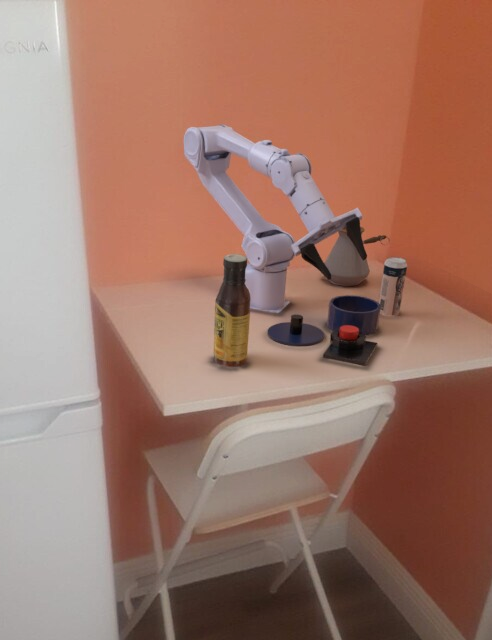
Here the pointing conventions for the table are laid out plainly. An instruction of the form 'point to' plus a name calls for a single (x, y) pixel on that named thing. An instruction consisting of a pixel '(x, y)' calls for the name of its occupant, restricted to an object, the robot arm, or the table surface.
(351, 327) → the button
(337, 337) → the control block
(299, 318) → the lid
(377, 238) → the coffee pot
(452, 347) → the table surface
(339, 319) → the pot
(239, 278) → the sauce bottle
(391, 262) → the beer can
